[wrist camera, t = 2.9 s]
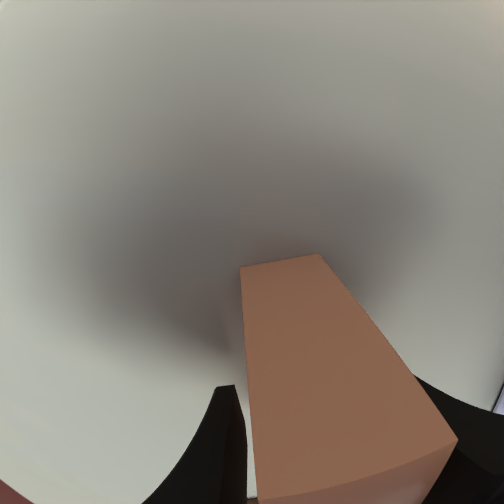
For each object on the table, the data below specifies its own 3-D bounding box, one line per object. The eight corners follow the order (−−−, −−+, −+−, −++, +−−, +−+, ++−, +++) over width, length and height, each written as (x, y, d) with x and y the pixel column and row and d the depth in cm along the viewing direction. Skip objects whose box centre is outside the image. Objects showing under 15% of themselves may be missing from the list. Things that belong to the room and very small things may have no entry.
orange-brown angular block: (318, 253, 12) (458, 439, 3) (326, 401, 14) (380, 556, 6) (239, 267, 12) (258, 500, 3) (268, 413, 14) (293, 577, 6)
